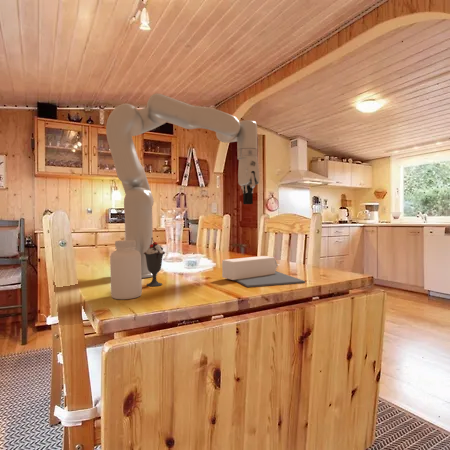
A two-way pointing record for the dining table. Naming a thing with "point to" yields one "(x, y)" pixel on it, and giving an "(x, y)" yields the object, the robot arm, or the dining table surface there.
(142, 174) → the robot arm
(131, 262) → the pill bottle
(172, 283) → the dining table surface
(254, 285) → the slate mat
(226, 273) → the milk
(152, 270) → the sundae
